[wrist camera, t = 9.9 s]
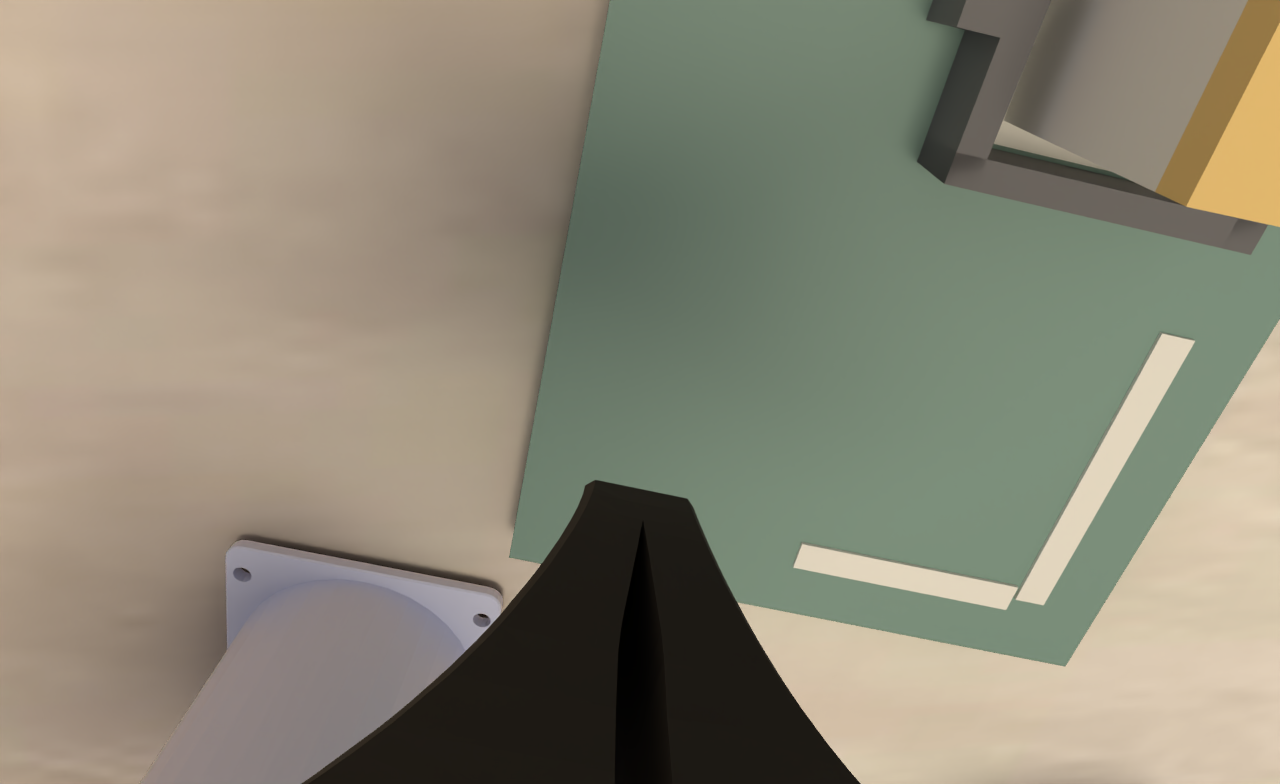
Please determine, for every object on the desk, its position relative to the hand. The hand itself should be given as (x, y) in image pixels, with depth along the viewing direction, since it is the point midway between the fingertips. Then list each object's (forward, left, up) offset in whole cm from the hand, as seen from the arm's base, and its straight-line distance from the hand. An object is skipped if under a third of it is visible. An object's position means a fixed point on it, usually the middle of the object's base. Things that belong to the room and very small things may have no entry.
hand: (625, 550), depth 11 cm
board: (+3, -6, -10) cm, 12 cm away
